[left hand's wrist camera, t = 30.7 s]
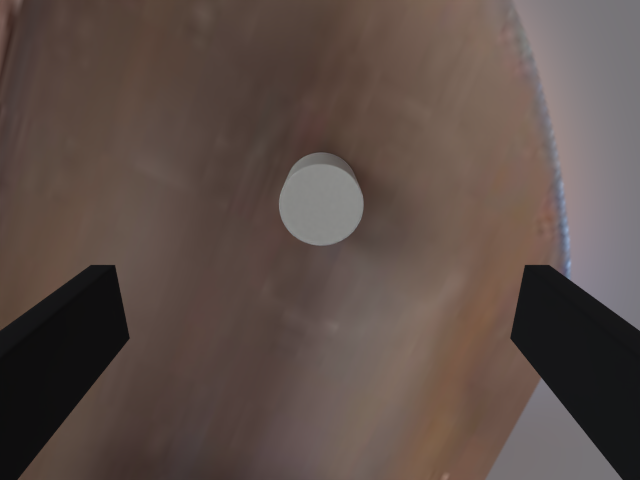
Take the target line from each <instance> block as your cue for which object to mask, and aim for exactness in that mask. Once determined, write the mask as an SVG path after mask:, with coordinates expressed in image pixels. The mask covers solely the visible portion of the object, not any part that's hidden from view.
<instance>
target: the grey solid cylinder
mask: <svg viewBox="0 0 640 480" xmlns="http://www.w3.org/2000/svg"><path fill="white" fill-rule="evenodd" d="M363 209H364V200H363V195H362V192H361V189H360V186H359V184H358V182H357V179H356V177H355V174H354V172H353V170H352V169H351V167H350V166H349V165H348V164H347V163H346V162H345V161H344V160H343V159H341V158H340V157H338V156H336V155H334V154H330V153H325V152H319V153H313V154H309V155H307V156H305V157H303V158H301V159H300V160H299V161H297V162H296V163H295V164H294V166H293V167H292V168H291V170H290V172H289V174H288V177H287V179H286V181H285V184H284V186H283V189H282V191H281V194H280V199H279V210H280V215H281V218H282V221H283V223H284V225H285V226H286V228H287V229H288V230H289V232H290V233H291V234H292V235H294V236H295V237H296V238H297V239H299V240H301V241H303V242H305V243H308V244H312V245H319V246H324V245H331V244H335V243H338V242H340V241H342V240H344V239H345V238H347V237H348V236H349V235H350V234H351V233H352V232H353V231H354V230H355V229H356V227H357V226H358V224H359V222H360V220H361V218H362V214H363Z"/></svg>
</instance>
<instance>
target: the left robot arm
mask: <svg viewBox="0 0 640 480" xmlns="http://www.w3.org/2000/svg"><path fill="white" fill-rule="evenodd" d="M129 339H130V337H129V333H128V328H127V323H126V318H125V313H124V308H123V303H122V298H121V293H120V288H119V283H118V278H117V273H116V268H115V265H90V266H89V267H88V268H86V269H85V270H84V271H82V272H81V273H79V274H78V275H77V276H75V277H74V278H73V279H71V280H70V281H68V282H67V283H66V284H64V285H63V286H61V287H60V288H59V289H57V290H56V291H55V292H53V293H52V294H50V295H49V296H48V297H46V298H45V299H44V300H42V301H41V302H39V303H38V304H37V305H35V306H34V307H33V308H31V309H30V310H28V311H27V312H26V313H24V314H23V315H22V316H20V317H19V318H17V319H16V320H15V321H13V322H12V323H11V324H9V325H8V326H6V327H5V328H4V329H2V330H1V331H0V480H17V479H18V478H19V477H20V476H21V474H22V473H23V472H24V471H25V469H26V468H27V467H28V466H29V464H30V463H31V462H32V461H33V459H34V458H35V457H36V456H37V454H38V453H39V452H40V450H41V449H42V448H43V447H44V445H45V444H46V443H47V442H48V440H49V439H50V438H51V437H52V435H53V434H54V433H55V432H56V430H57V429H58V428H59V427H60V425H61V424H62V423H63V422H64V420H65V419H66V418H67V417H68V415H69V414H70V413H71V411H72V410H73V409H74V408H75V406H76V405H77V404H78V403H79V401H80V400H81V399H82V398H83V396H84V395H85V394H86V393H87V391H88V390H89V389H90V388H91V386H92V385H93V384H94V383H95V381H96V380H97V379H98V378H99V376H100V375H101V374H102V372H103V371H104V370H105V369H106V367H107V366H108V365H109V364H110V362H111V361H112V360H113V359H114V357H115V356H116V355H117V354H118V352H119V351H120V350H121V349H122V347H123V346H124V345H125V344H126V342H127V341H128V340H129ZM510 339H511V340H512V341H513V342H514V344H515V345H516V346H517V347H518V349H519V350H520V351H521V352H522V354H523V355H524V356H525V357H526V359H527V360H528V361H529V362H530V364H531V365H532V366H533V367H534V369H535V370H536V371H537V372H538V374H539V375H540V376H541V378H542V379H543V380H544V381H545V383H546V384H547V385H548V386H549V388H550V389H551V390H552V391H553V393H554V394H555V395H556V396H557V398H558V399H559V400H560V401H561V403H562V404H563V405H564V406H565V408H566V409H567V410H568V411H569V413H570V414H571V415H572V417H573V418H574V419H575V420H576V422H577V423H578V424H579V425H580V427H581V428H582V429H583V430H584V432H585V433H586V434H587V435H588V437H589V438H590V439H591V440H592V442H593V443H594V444H595V445H596V447H597V448H598V449H599V450H600V452H601V453H602V454H603V456H604V457H605V458H606V459H607V461H608V462H609V463H610V464H611V466H612V467H613V468H614V469H615V471H616V472H617V473H618V474H619V476H620V477H621V478H622V479H623V480H640V331H639V330H638V329H636V328H635V327H634V326H632V325H631V324H629V323H628V322H627V321H625V320H624V319H623V318H621V317H620V316H618V315H617V314H616V313H614V312H613V311H612V310H610V309H609V308H607V307H606V306H605V305H603V304H602V303H601V302H599V301H598V300H596V299H595V298H594V297H592V296H591V295H590V294H588V293H587V292H585V291H584V290H583V289H581V288H580V287H579V286H577V285H576V284H574V283H573V282H572V281H570V280H569V279H567V278H566V277H565V276H563V275H562V274H561V273H559V272H558V271H556V270H555V269H554V268H552V267H551V266H550V265H525V268H524V273H523V278H522V283H521V288H520V293H519V298H518V303H517V308H516V313H515V318H514V323H513V328H512V332H511V337H510Z"/></svg>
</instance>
